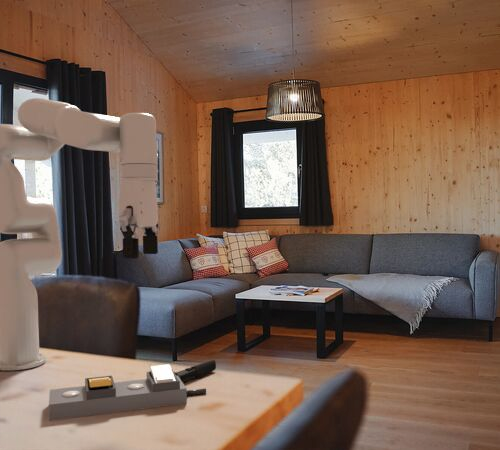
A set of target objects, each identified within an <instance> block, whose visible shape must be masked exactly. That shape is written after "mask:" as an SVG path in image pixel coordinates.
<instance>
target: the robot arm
mask: <svg viewBox="0 0 500 450" xmlns="http://www.w3.org/2000/svg"><path fill="white" fill-rule="evenodd" d="M17 118H18V121H19V124H20V125H19V124H18V125H17V124H9V123H0V233H1V234H5V235H18V234H20V235H22V234H31V236H32V237H31V238H28V237H27V238H25V237H24V238H11V239H6V240H2V241H1V242H0V371H3V372H4V371H8V372H10V371H11V372H12V371H20V370H21V371H22V370H27V369H31V368H36V367H39V366H42V365H43V364H45V363H46V361H47V357H46V355H44V354H43V353H40V337H39V336H40V333H39V331H40V330H39V329H40V328H39V300H38V299H39V297H38V291H37V288H36V287H35V285H34V283H33V282H32V281H31V279H30V277H29V276H35V275H43V274H49V273H52V272H55V271H57V269H58V268H60V265H61V263H62V258H63V249H62V242H61V234H60V228H59V221H58V215H57V210H56V208H55V207H54V205H53V203H52V202H51V201H50V200H49V199H48V198H46V197H43V196H28V195H27V193H26V188H25V181H24V177H23V175H22V174H21V172H20V170H19V169H18V167H17V166H16V165H15V164H14V163H13V162H12V160H23V161H36V162H40V161H42V162H43V161H47V160H49V159H51V158H52V157H53V156H54V155H56V153H58V151H60V149H62V148H63V147H64V146H65V145H67V146H71V147H74V148H78V149H83V150H88V151H101V152H110V153H119V161H120V164H119V165H120V185H119V194H118V197H119V198H118V225H119V227H120V228H119V230H120V232H121V239H122V257H123V259H139V258H140V250H139V247H140V246H139V245H140V244H139V238H137V237H138V234H139V230H140V229H142V232H143V234H144V235H142V253H143V255H157V254H158V253H159V251H158V249H159V248H158V246H159V245H158V244H159V243H158V234H159V230H158V229H159V218H160V217H159V206H158V195H157V194H158V193H157V186H156V182H157V181H158V148H157V147H158V146H157V144H158V143H157V121H156V118H155V116H153V115H152V114H149V113H147V112H146V113H145V112H129V113H125V114H123V115H121V116H120V117H119V116H111V115H106V114H101V113H100V114H99V113H93V112H87V111H82V110H81V109H80V108H78V107H77V106H76V105H73V104H70V103H68V102H63V101H60V100H59V101H58V100H52V99H46V98H41V97H40V98H39V97H35V98H28V99H27V100H25V101H24V102H22V103H21V104H20V106H19V107H18V111H17Z"/></svg>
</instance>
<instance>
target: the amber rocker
mask: <svg viewBox="0 0 500 450" xmlns="http://www.w3.org/2000/svg"><path fill="white" fill-rule="evenodd" d="M108 385H112V382H111V379H110V378H109V377H105V378H96V379H89V386H90V388H91V387H99V386H108Z"/></svg>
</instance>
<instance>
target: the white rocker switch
mask: <svg viewBox="0 0 500 450" xmlns="http://www.w3.org/2000/svg"><path fill="white" fill-rule="evenodd" d="M171 369H172V367H171V364H170V363H169V364H160V365H151V366H150V370H149V372H150V371H151V374H152V377H153V381H154V383H161V382H170V381H176V380H175V377H174V375H173V372H174V371H173V372H172V370H173V369H172V370H171Z"/></svg>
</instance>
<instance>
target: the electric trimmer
mask: <svg viewBox="0 0 500 450" xmlns="http://www.w3.org/2000/svg"><path fill="white" fill-rule="evenodd" d="M216 369H217V364H216V360H215V359H212V360H209V361H205V362H203V363H199V364H196V365H193V366H190V367H187V368H185V369H182V370H179V371H177V372H175V371H173V372H174V373H175V375H176V376H178V377H179V378H180V379H181V381H182V382H183V384H185V383H187V382H189V381H191V380H194V379H200V378H203V377H204V376H206V375H209V374H210V373H212V372H214V371H215V370H216Z"/></svg>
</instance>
